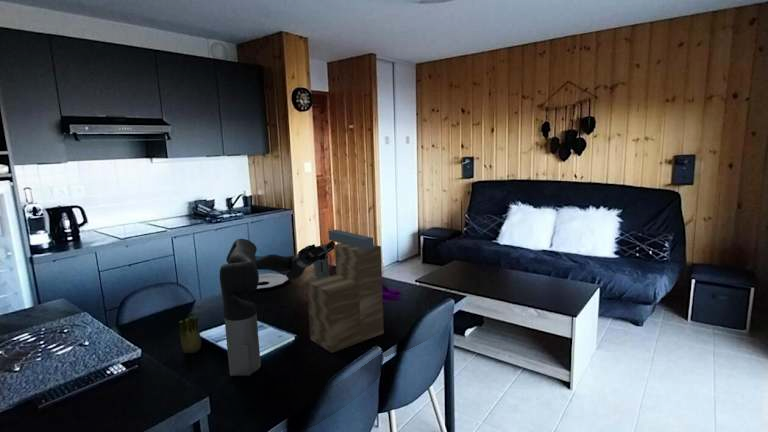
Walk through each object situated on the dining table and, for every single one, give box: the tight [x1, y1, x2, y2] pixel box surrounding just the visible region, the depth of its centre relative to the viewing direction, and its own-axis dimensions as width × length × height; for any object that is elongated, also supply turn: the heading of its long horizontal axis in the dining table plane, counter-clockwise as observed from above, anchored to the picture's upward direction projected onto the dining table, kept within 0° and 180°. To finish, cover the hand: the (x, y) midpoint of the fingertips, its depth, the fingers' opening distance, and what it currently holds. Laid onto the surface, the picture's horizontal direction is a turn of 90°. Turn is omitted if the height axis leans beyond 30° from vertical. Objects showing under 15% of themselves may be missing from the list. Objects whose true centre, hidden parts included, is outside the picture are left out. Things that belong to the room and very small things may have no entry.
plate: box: [255, 273, 289, 291], centre depth 216 cm, size 25×25×2 cm
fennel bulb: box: [178, 316, 202, 354], centre depth 142 cm, size 6×5×12 cm
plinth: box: [306, 243, 385, 354], centre depth 149 cm, size 14×22×32 cm, turn 129°
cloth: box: [382, 283, 403, 303], centre depth 191 cm, size 22×19×6 cm
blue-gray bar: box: [328, 229, 374, 250], centre depth 153 cm, size 23×4×4 cm, turn 39°
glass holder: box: [312, 246, 332, 279], centre depth 222 cm, size 9×14×15 cm, turn 40°
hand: (323, 244), depth 168 cm, fingers open, 8 cm apart
